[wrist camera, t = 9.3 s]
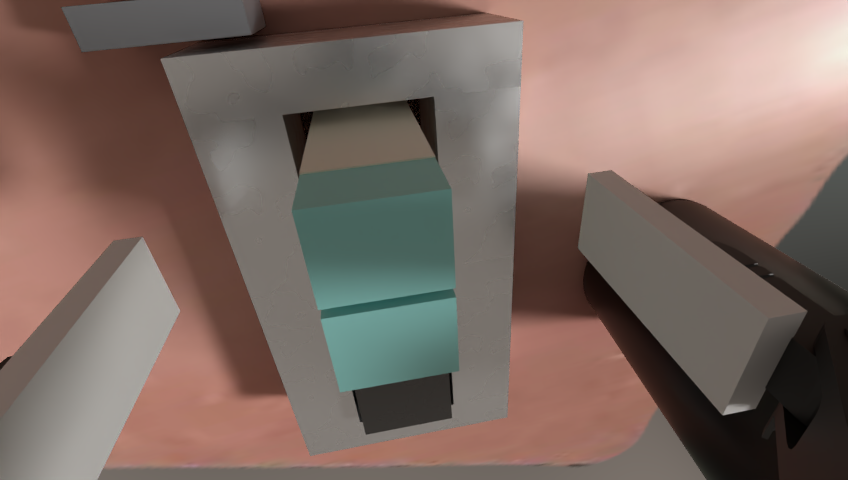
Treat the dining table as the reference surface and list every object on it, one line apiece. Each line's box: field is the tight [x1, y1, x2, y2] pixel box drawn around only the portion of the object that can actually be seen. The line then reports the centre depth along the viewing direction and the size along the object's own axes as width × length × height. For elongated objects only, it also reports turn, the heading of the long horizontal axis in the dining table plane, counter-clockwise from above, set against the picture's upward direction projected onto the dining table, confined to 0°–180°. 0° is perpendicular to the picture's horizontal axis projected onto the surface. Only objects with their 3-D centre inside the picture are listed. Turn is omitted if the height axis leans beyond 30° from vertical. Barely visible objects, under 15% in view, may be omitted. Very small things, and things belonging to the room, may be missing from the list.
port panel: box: [161, 13, 523, 456], centre depth 19 cm, size 20×11×5 cm, turn 5°
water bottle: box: [583, 200, 848, 480], centre depth 15 cm, size 10×10×23 cm
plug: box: [291, 100, 459, 392], centre depth 15 cm, size 6×4×10 cm, turn 4°
